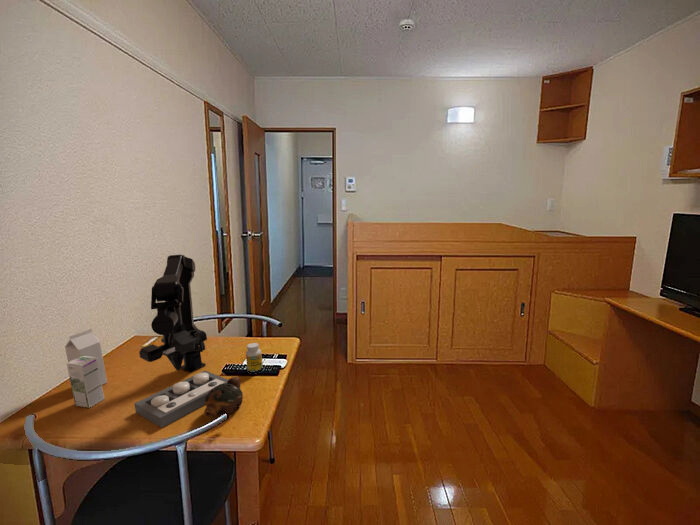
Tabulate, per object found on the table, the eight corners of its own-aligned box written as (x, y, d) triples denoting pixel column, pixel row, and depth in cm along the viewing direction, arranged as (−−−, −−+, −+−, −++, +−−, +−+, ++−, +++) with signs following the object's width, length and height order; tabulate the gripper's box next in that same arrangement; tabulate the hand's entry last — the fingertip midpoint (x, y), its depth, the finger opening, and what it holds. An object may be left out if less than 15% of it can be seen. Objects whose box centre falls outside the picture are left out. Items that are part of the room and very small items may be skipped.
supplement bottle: (259, 365, 145) (257, 340, 144) (265, 371, 141) (263, 345, 139) (245, 369, 143) (242, 344, 141) (250, 375, 138) (248, 349, 136)
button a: (148, 407, 118) (147, 401, 118) (163, 399, 122) (163, 393, 122) (157, 412, 116) (156, 405, 115) (172, 404, 120) (171, 398, 119)
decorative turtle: (252, 398, 124) (250, 374, 122) (227, 427, 109) (224, 400, 108) (224, 395, 126) (221, 372, 124) (195, 424, 111) (192, 397, 110)
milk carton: (107, 382, 137) (98, 330, 133) (86, 393, 131) (76, 338, 127) (94, 379, 140) (84, 327, 136) (72, 389, 134) (62, 335, 130)
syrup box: (105, 399, 126) (97, 356, 124) (88, 409, 121) (80, 364, 118) (91, 397, 128) (83, 354, 125) (74, 407, 122) (65, 362, 120)
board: (135, 412, 118) (134, 401, 117) (206, 378, 137) (205, 369, 136) (161, 427, 110) (160, 416, 109) (232, 389, 129) (231, 379, 128)
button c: (190, 383, 129) (189, 377, 129) (203, 376, 133) (202, 371, 133) (199, 387, 127) (198, 381, 126) (212, 380, 130) (211, 374, 130)
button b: (170, 392, 124) (169, 386, 123) (184, 386, 128) (183, 380, 127) (179, 397, 121) (178, 390, 121) (193, 390, 125) (192, 384, 124)
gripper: (154, 338, 108) (162, 391, 111) (214, 317, 122) (220, 364, 126) (134, 330, 114) (142, 380, 118) (193, 311, 129) (199, 356, 132)
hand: (178, 370), depth 123 cm, fingers closed
